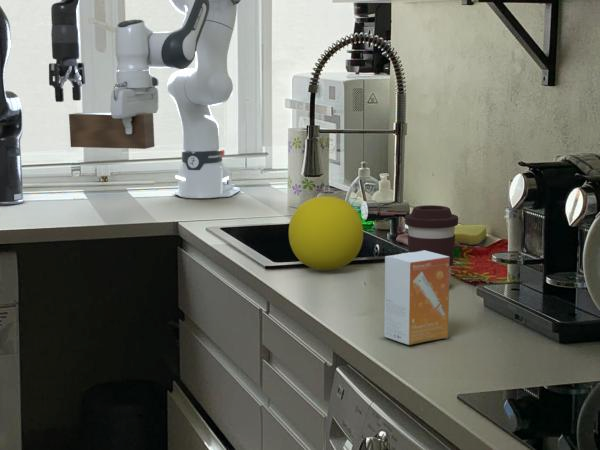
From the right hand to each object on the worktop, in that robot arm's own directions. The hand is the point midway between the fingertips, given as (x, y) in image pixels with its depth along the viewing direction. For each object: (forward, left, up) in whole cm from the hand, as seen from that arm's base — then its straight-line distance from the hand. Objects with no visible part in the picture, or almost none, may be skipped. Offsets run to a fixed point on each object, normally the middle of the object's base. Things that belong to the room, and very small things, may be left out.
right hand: (136, 132), depth 283 cm
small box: (+96, +102, -23) cm, 142 cm away
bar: (0, -8, -4) cm, 9 cm away
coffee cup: (+61, +96, -23) cm, 116 cm away
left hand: (0, -21, +8) cm, 22 cm away
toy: (+52, +72, -23) cm, 92 cm away
